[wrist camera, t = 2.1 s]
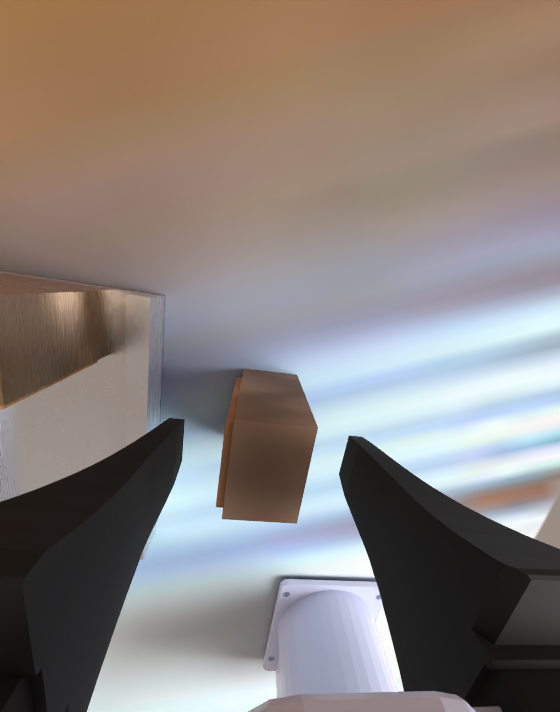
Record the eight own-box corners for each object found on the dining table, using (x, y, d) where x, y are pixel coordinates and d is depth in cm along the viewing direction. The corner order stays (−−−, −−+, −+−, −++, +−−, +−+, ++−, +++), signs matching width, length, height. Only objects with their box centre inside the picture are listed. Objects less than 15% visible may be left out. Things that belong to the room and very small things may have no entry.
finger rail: (155, 530, 17) (93, 677, 11) (11, 523, 16) (-149, 680, 10) (164, 295, 13) (76, 308, 7) (-25, 266, 12) (-335, 251, 6)
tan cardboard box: (297, 375, 15) (317, 427, 9) (284, 442, 16) (296, 523, 11) (238, 367, 14) (225, 418, 9) (229, 437, 15) (213, 518, 10)
